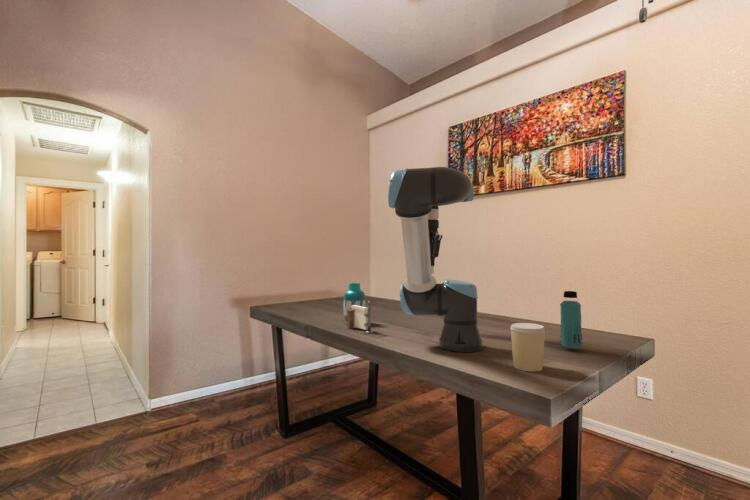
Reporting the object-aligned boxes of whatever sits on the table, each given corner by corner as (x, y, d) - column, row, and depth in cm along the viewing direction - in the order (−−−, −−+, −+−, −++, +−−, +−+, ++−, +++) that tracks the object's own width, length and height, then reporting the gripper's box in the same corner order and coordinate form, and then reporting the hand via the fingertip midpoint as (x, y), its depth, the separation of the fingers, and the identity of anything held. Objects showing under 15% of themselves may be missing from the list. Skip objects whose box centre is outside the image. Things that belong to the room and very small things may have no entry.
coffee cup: (534, 361, 110) (533, 322, 110) (552, 371, 101) (552, 328, 101) (504, 363, 109) (504, 323, 109) (521, 373, 99) (520, 329, 100)
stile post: (354, 328, 160) (354, 310, 160) (349, 329, 159) (349, 310, 159) (351, 327, 162) (351, 309, 162) (346, 328, 161) (346, 309, 161)
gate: (369, 329, 153) (369, 308, 153) (366, 330, 152) (366, 308, 152) (354, 325, 163) (354, 304, 163) (351, 325, 162) (351, 305, 162)
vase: (339, 324, 169) (339, 283, 170) (349, 320, 179) (349, 281, 179) (360, 326, 165) (359, 284, 166) (369, 322, 175) (368, 282, 175)
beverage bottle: (574, 353, 119) (573, 292, 119) (555, 348, 125) (555, 290, 125) (586, 351, 122) (585, 291, 122) (568, 346, 128) (567, 289, 128)
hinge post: (375, 332, 151) (375, 301, 151) (367, 333, 149) (367, 301, 149) (370, 331, 154) (370, 300, 154) (363, 332, 152) (363, 300, 152)
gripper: (447, 218, 155) (447, 274, 155) (426, 221, 166) (426, 272, 165) (434, 217, 151) (434, 274, 150) (413, 220, 162) (414, 273, 161)
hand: (430, 273), depth 158 cm, fingers closed
